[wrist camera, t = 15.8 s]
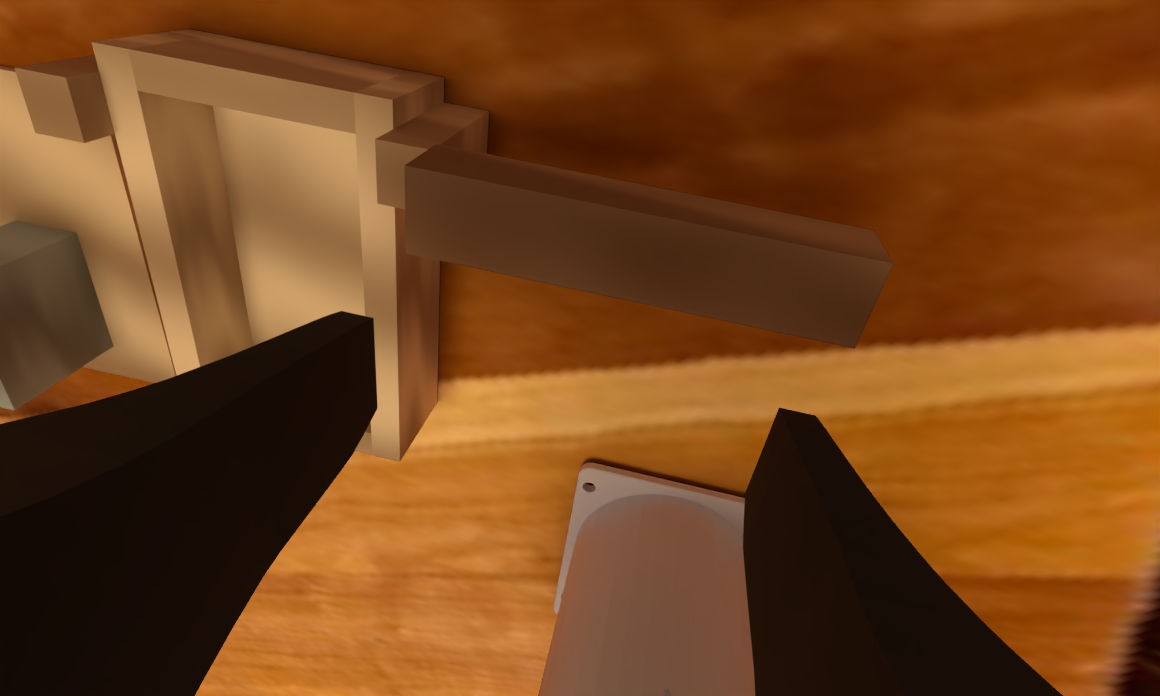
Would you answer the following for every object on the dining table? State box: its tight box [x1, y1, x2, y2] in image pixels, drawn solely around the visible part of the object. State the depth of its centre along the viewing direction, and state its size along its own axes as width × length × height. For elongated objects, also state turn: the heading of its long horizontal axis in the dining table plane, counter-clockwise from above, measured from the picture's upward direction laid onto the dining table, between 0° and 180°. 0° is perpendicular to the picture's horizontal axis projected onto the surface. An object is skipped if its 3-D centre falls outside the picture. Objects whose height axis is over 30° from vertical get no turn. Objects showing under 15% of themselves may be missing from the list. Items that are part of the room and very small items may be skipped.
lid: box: [0, 66, 176, 410], centre depth 22 cm, size 12×8×5 cm, turn 173°
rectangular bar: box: [404, 144, 893, 349], centre depth 14 cm, size 2×10×2 cm, turn 82°
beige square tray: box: [14, 29, 489, 462], centre depth 20 cm, size 12×11×4 cm
